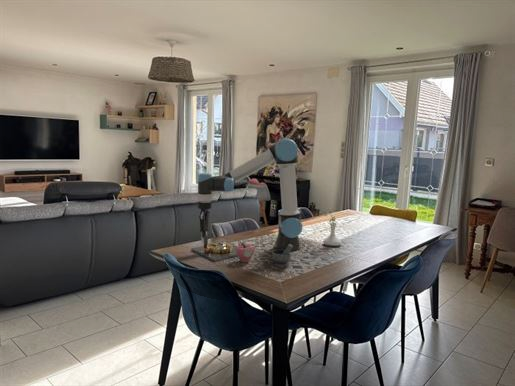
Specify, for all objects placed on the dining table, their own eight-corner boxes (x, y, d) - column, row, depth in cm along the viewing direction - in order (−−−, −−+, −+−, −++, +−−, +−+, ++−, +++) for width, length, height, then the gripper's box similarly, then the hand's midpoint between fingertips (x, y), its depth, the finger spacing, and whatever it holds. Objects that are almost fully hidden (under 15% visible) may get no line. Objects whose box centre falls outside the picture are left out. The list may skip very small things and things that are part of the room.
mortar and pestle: (268, 265, 197) (268, 242, 195) (277, 260, 205) (278, 239, 203) (287, 270, 191) (288, 246, 189) (296, 265, 199) (297, 242, 197)
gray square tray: (250, 253, 216) (250, 245, 216) (214, 261, 201) (214, 252, 200) (225, 243, 235) (226, 236, 234) (191, 250, 219) (191, 242, 219)
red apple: (239, 265, 197) (239, 246, 195) (233, 259, 204) (233, 241, 203) (256, 263, 200) (256, 244, 199) (250, 258, 208) (250, 240, 207)
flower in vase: (329, 241, 246) (331, 202, 243) (345, 245, 238) (347, 205, 235) (317, 244, 237) (319, 205, 234) (332, 249, 229) (335, 207, 226)
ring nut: (226, 245, 226) (226, 229, 225) (236, 251, 215) (236, 234, 214) (199, 248, 218) (200, 232, 217) (208, 254, 207) (208, 237, 206)
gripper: (201, 199, 219) (200, 239, 223) (194, 202, 206) (194, 245, 210) (214, 199, 218) (213, 240, 222) (208, 203, 205) (207, 246, 209)
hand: (204, 242), depth 216 cm, fingers closed
